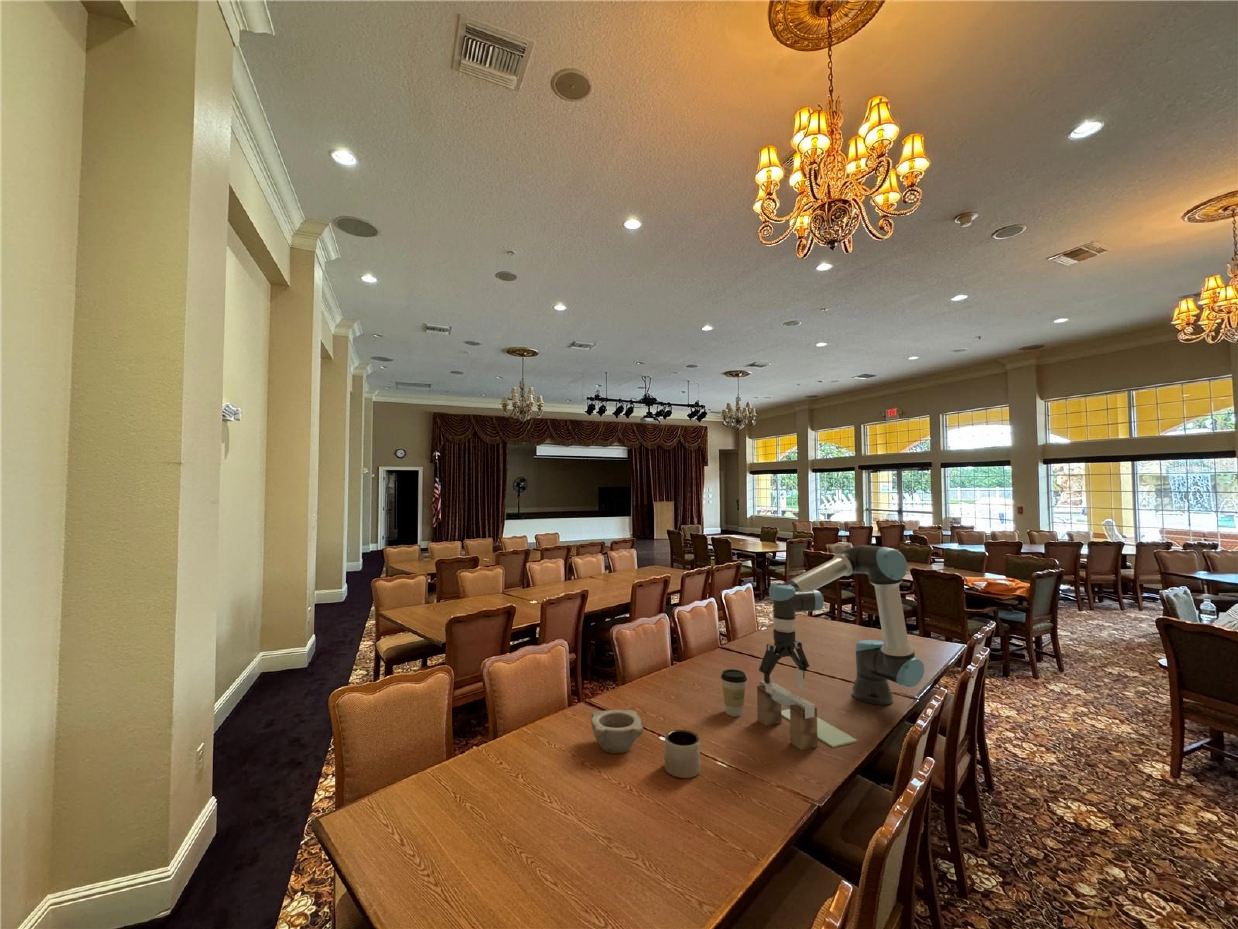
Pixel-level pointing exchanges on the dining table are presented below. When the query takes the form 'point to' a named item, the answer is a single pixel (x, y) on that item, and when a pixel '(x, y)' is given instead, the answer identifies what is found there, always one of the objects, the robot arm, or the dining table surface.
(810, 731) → the post
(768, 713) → the post
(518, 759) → the dining table surface
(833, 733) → the mat
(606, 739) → the mortar
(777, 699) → the rail
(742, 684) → the coffee cup
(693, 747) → the planter
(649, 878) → the dining table surface
